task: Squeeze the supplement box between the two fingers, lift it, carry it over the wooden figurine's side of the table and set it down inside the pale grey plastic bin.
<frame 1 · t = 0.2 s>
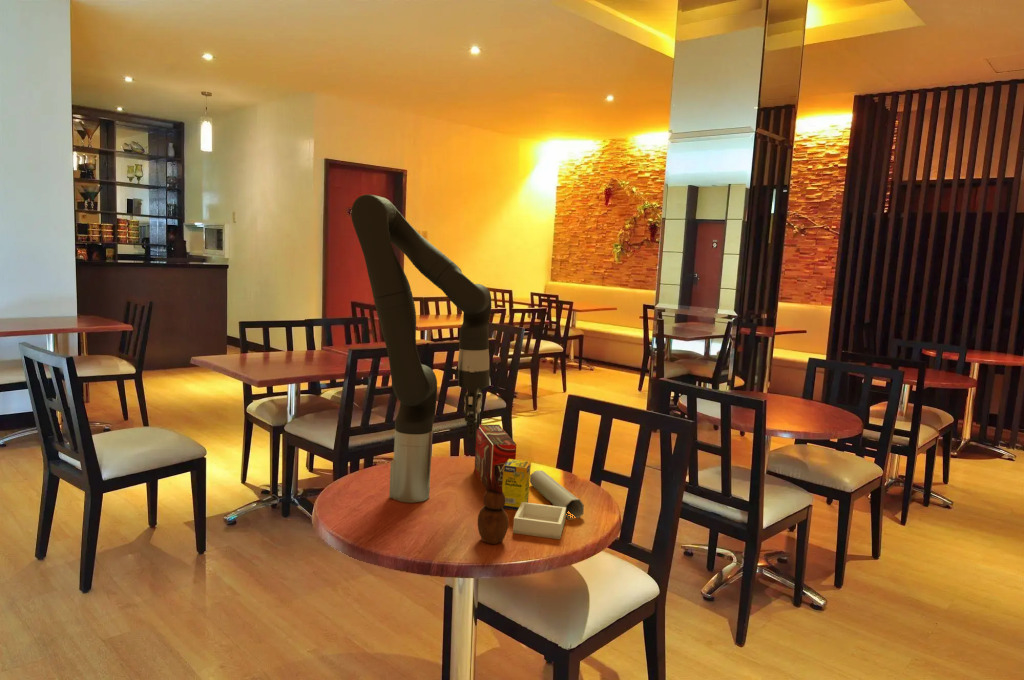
hand: (473, 432, 169), 18 cm above the table, tool pointing down, fingers open, 8 cm apart
ice cream box: (492, 482, 189), on the table
supplement box: (514, 506, 172), on the table
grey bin: (539, 527, 159), on the table
tube: (552, 502, 177), on the table
wooden figurine: (491, 541, 150), on the table
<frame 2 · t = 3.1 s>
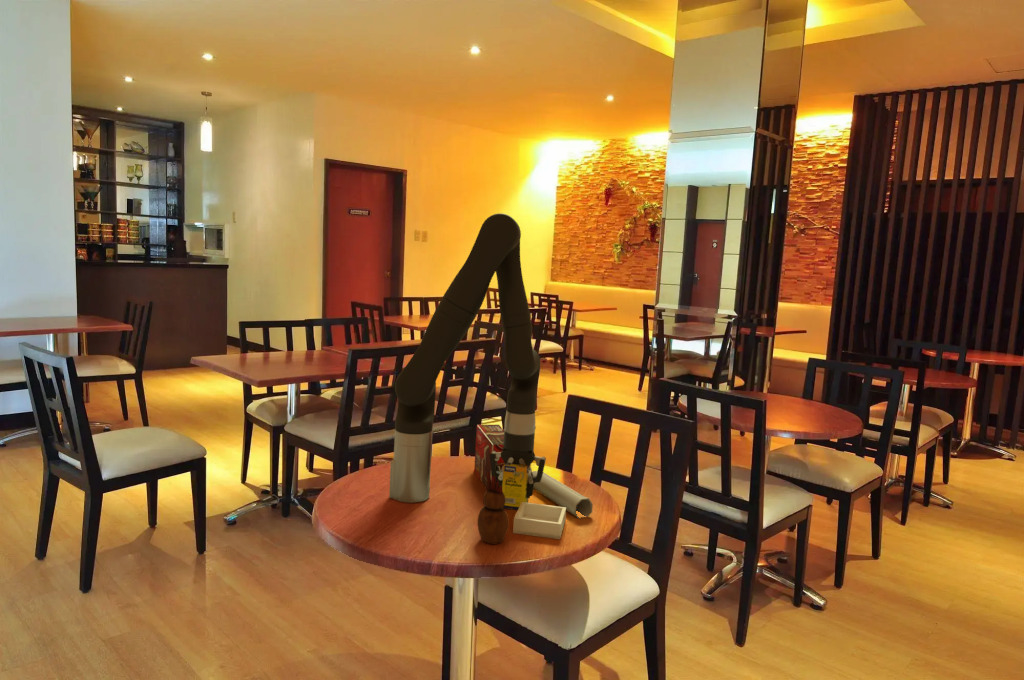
hand: (515, 495, 172), 3 cm above the table, tool pointing down, fingers closed on supplement box, 6 cm apart
supplement box: (514, 506, 172), on the table, touching gripper
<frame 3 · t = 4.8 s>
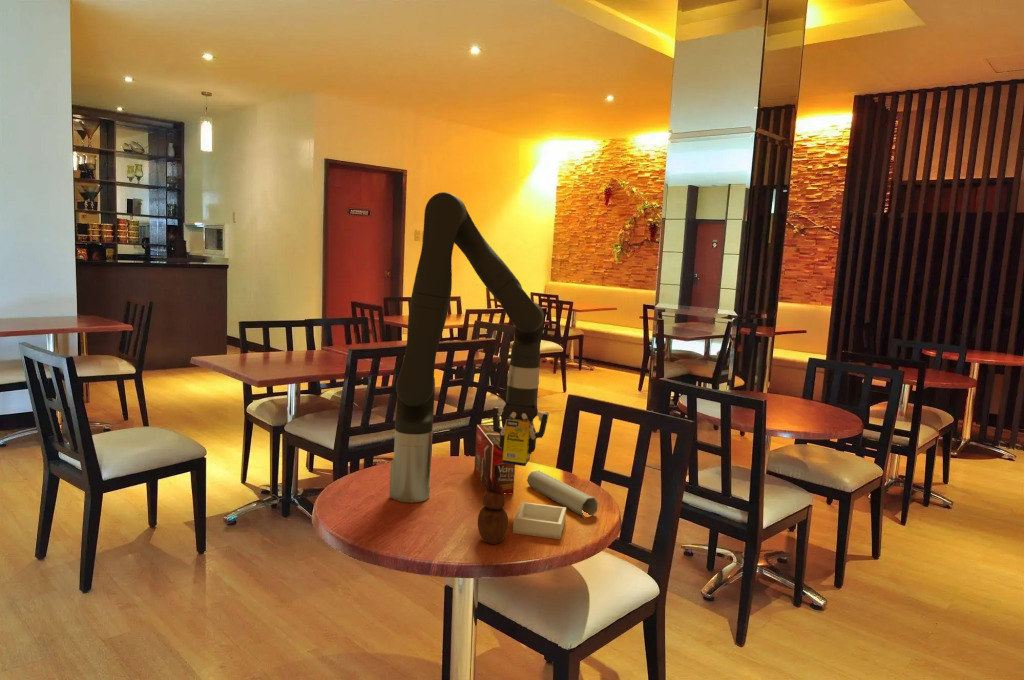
hand: (517, 451, 170), 14 cm above the table, tool pointing down, fingers closed on supplement box, 6 cm apart
supplement box: (516, 462, 171), point 11 cm above the table, touching gripper
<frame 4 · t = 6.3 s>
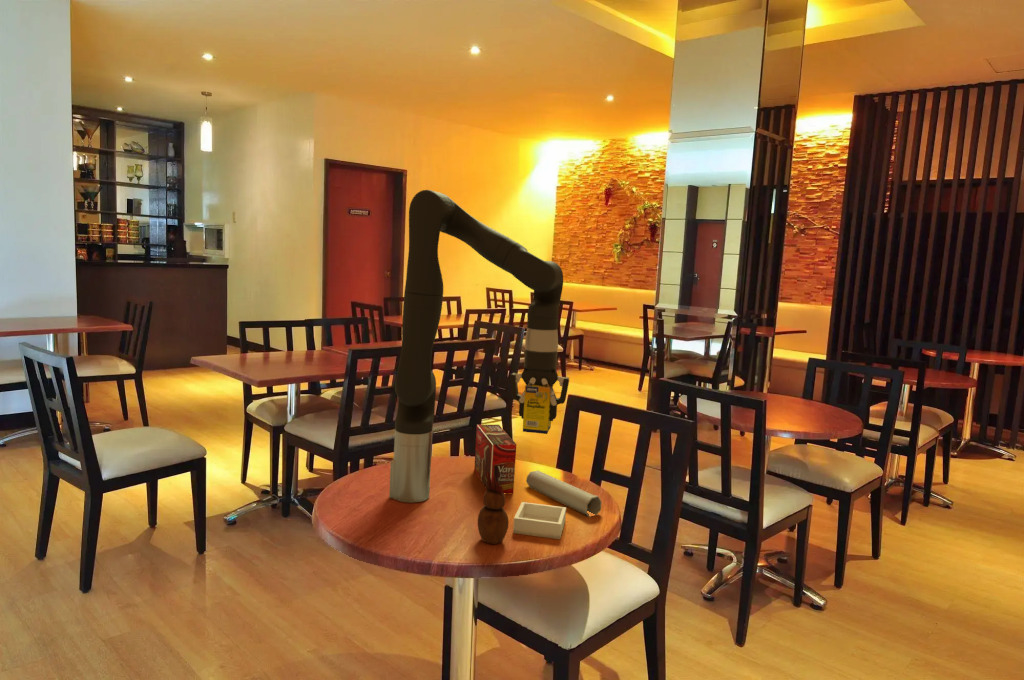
hand: (537, 419, 162), 24 cm above the table, tool pointing down, fingers closed on supplement box, 6 cm apart
supplement box: (536, 431, 162), point 21 cm above the table, touching gripper
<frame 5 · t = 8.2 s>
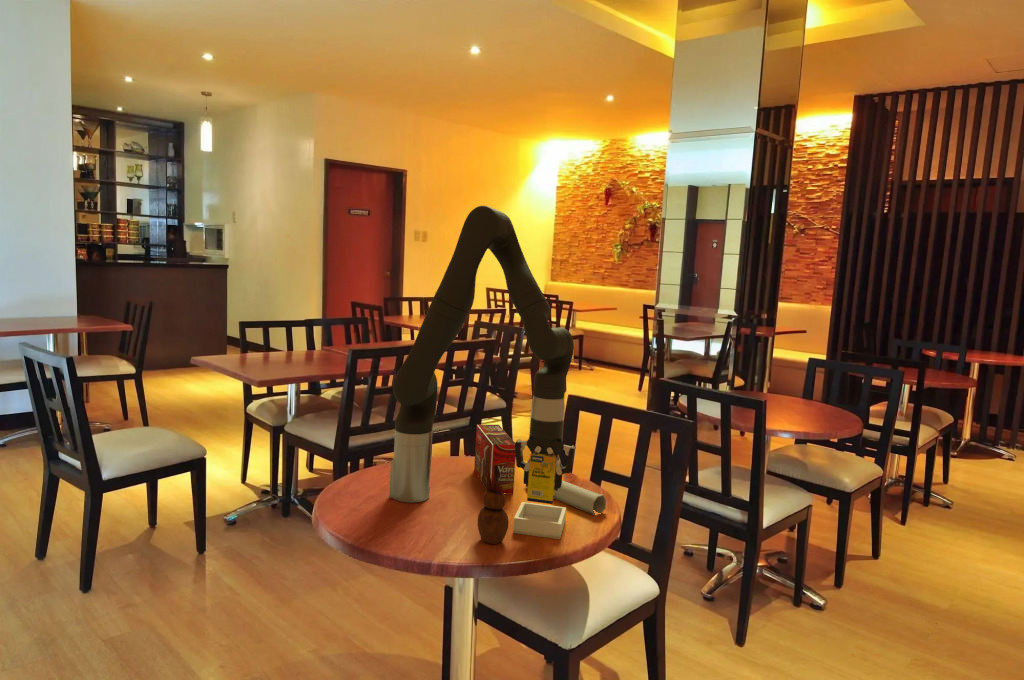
hand: (542, 487, 158), 9 cm above the table, tool pointing down, fingers closed on supplement box, 6 cm apart
supplement box: (541, 499, 159), point 7 cm above the table, touching gripper
when the fingers open (5 cm above the table, at t = 9.6 s): supplement box drops 2 cm, resting on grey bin.
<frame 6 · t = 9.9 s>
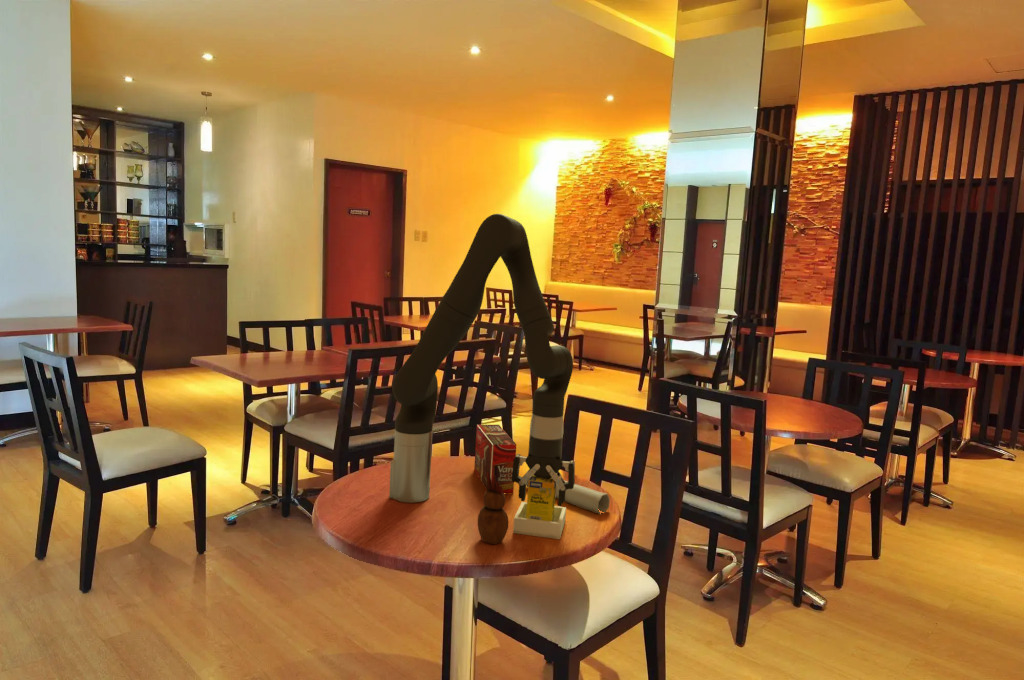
hand: (541, 502, 159), 6 cm above the table, tool pointing down, fingers open, 8 cm apart
supplement box: (539, 524, 159), point 1 cm above the table, touching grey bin
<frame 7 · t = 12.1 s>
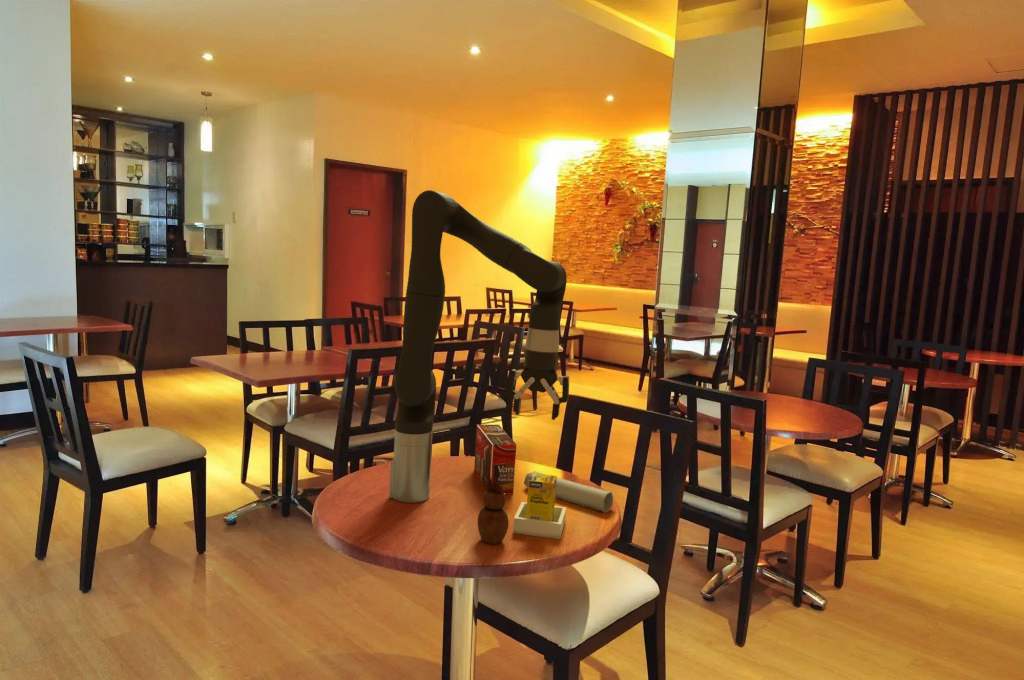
hand: (535, 416, 162), 25 cm above the table, tool pointing down, fingers open, 8 cm apart
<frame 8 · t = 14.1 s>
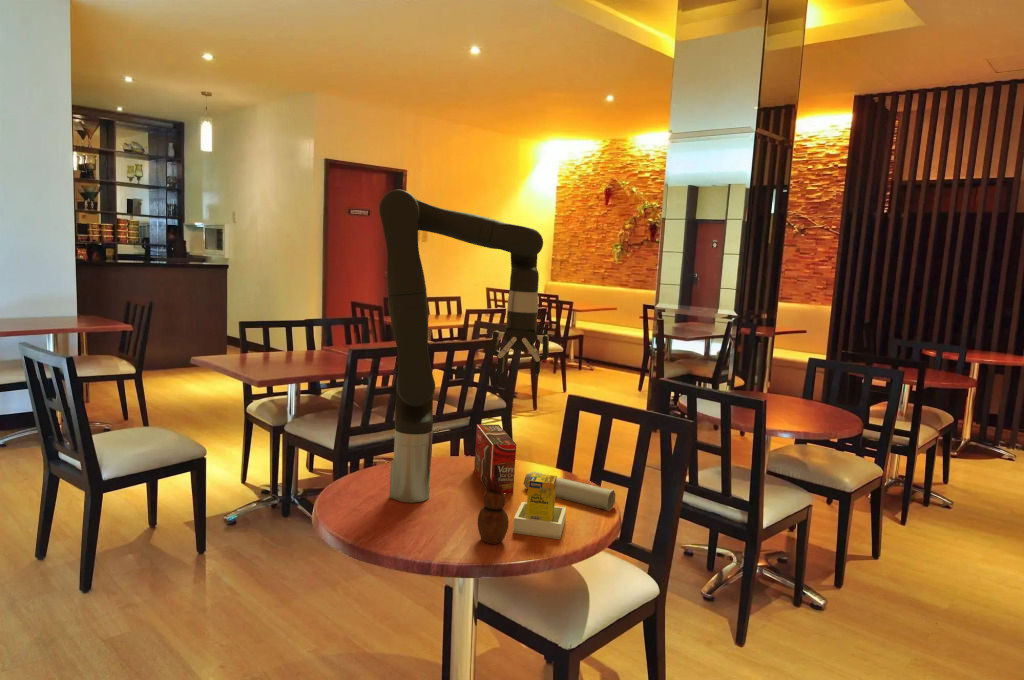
hand: (518, 374, 173), 32 cm above the table, tool pointing down, fingers open, 8 cm apart
at the end: supplement box 0.1 cm off-centre on the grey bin, point 0.6 cm above the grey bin's base; supplement box tilted 0°; the gripper is holding nothing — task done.
